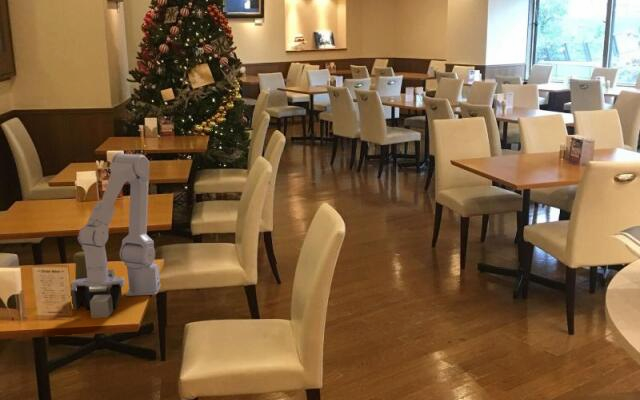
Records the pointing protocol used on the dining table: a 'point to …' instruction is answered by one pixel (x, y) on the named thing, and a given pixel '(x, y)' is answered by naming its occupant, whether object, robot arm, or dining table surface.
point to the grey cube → (101, 306)
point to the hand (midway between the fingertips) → (102, 309)
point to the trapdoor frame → (77, 300)
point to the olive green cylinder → (80, 265)
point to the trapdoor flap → (101, 288)
